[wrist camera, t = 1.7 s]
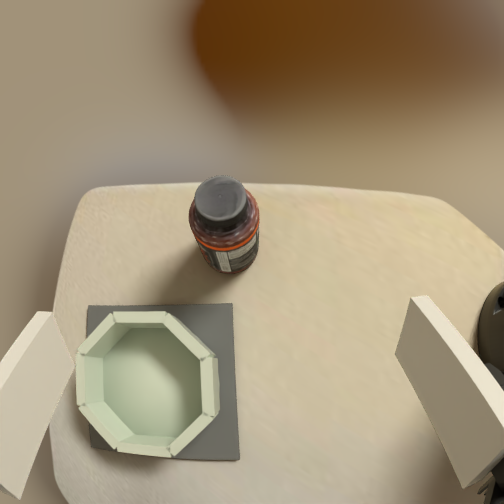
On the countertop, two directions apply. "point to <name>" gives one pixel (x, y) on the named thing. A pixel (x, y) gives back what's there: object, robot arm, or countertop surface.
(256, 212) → the supplement bottle
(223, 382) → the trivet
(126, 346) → the bowl
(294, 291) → the countertop surface
